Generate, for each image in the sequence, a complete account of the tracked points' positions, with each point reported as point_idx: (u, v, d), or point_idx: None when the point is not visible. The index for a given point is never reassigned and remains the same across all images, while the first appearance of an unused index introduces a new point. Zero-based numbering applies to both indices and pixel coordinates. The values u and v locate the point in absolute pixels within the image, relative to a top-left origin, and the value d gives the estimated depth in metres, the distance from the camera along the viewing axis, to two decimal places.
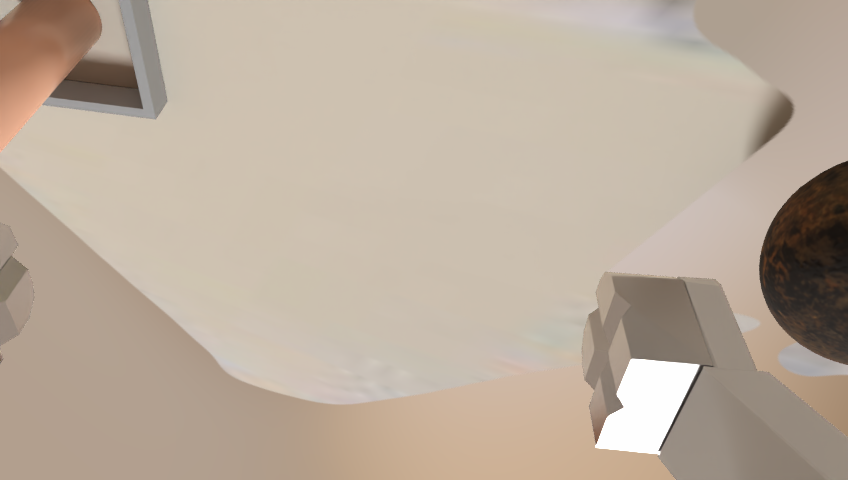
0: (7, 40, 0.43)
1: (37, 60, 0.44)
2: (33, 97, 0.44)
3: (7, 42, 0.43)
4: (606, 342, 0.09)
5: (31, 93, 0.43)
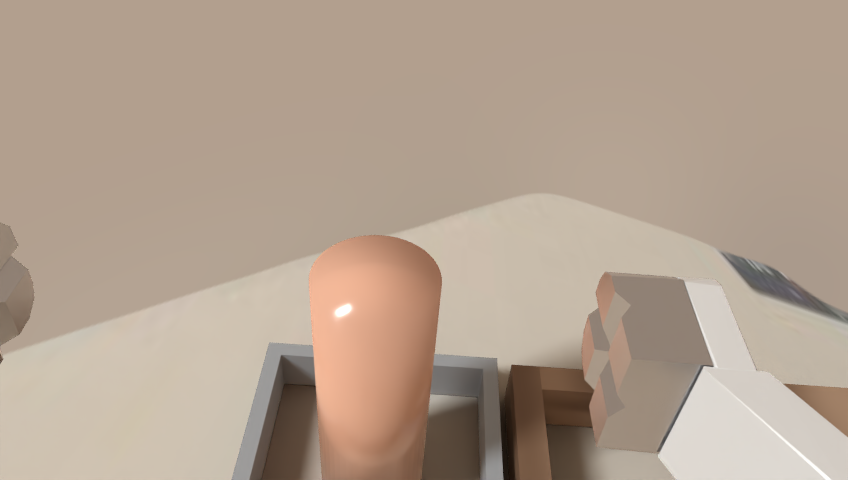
0: (428, 395, 0.30)
1: (400, 422, 0.29)
2: (365, 397, 0.27)
3: (428, 393, 0.30)
4: (606, 342, 0.09)
5: (373, 396, 0.27)
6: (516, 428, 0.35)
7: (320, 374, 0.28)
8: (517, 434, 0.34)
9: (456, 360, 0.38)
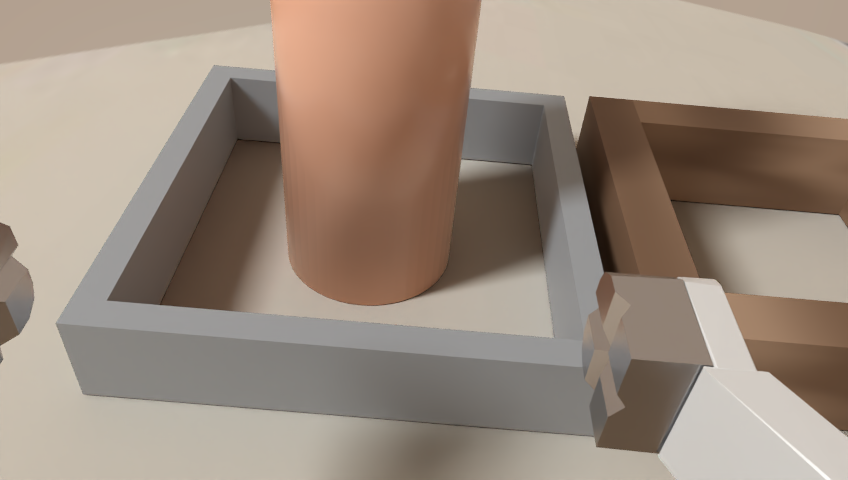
0: (477, 18, 0.16)
1: (426, 40, 0.15)
2: None
3: (477, 11, 0.16)
4: (606, 342, 0.09)
5: None
6: (607, 161, 0.21)
7: None
8: (610, 167, 0.21)
9: (502, 95, 0.25)
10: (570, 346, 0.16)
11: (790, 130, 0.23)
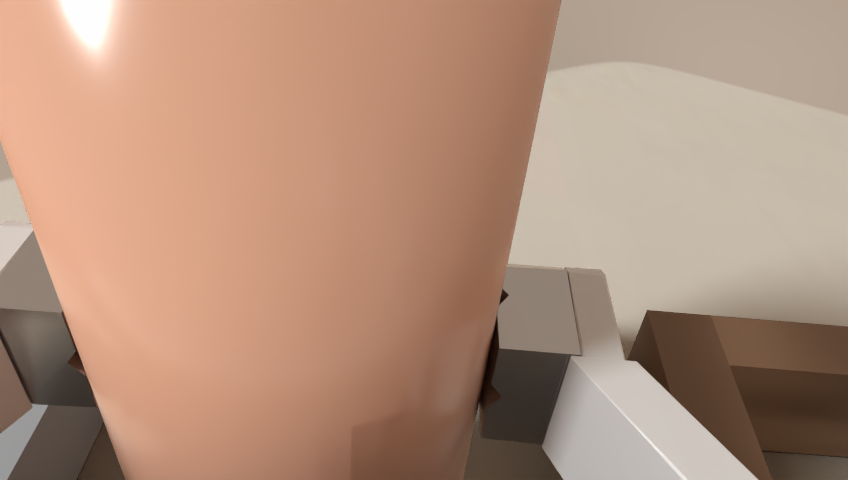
0: (487, 360, 0.08)
1: (384, 461, 0.07)
2: (219, 346, 0.06)
3: (488, 352, 0.08)
4: None
5: (258, 345, 0.06)
6: None
7: None
8: None
9: None
10: None
11: None
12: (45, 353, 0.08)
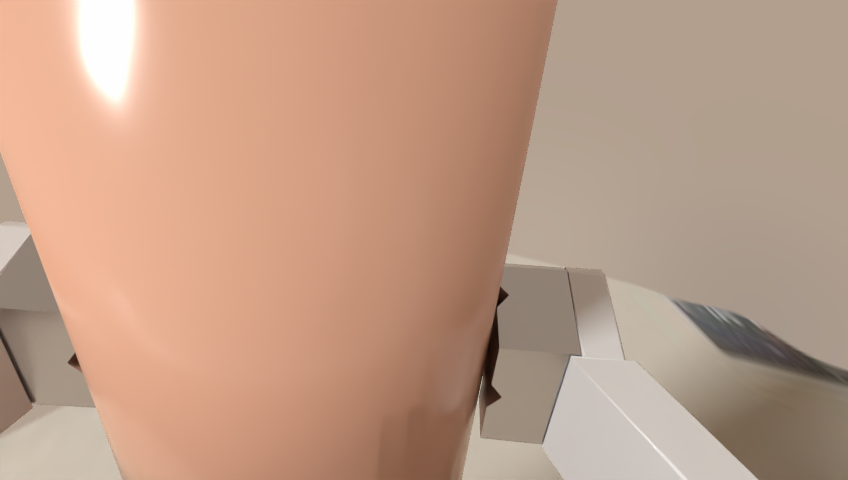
0: (485, 359, 0.08)
1: (381, 460, 0.07)
2: (216, 346, 0.06)
3: (485, 351, 0.08)
4: None
5: (254, 345, 0.06)
6: None
7: (39, 254, 0.06)
8: None
9: None
10: None
11: None
12: (46, 353, 0.08)
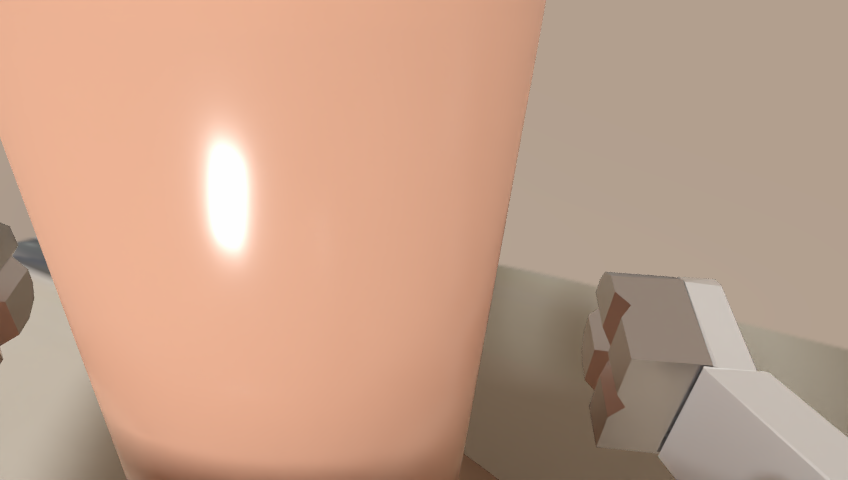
0: (468, 420, 0.09)
1: None
2: (232, 433, 0.07)
3: (468, 415, 0.09)
4: (606, 342, 0.09)
5: (265, 432, 0.07)
6: None
7: (78, 345, 0.08)
8: None
9: None
10: None
11: None
12: None
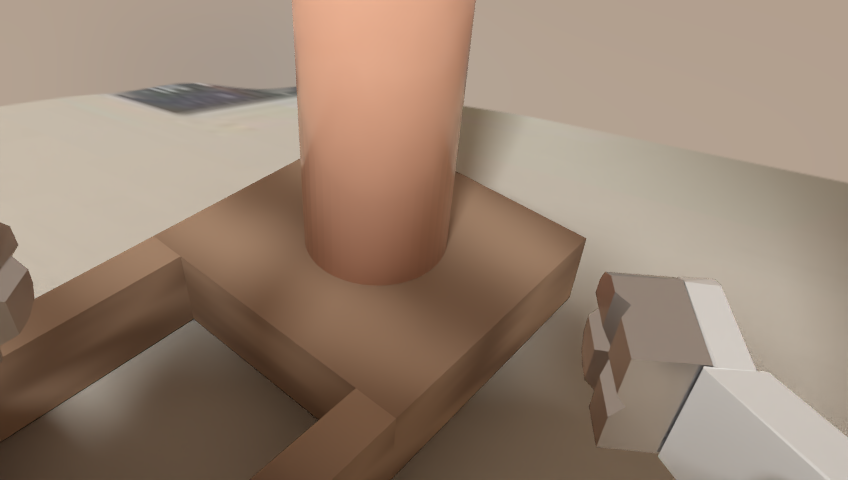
0: (469, 36, 0.19)
1: (427, 56, 0.18)
2: None
3: (470, 30, 0.19)
4: (606, 342, 0.09)
5: None
6: None
7: None
8: None
9: None
10: None
11: (94, 296, 0.22)
12: None
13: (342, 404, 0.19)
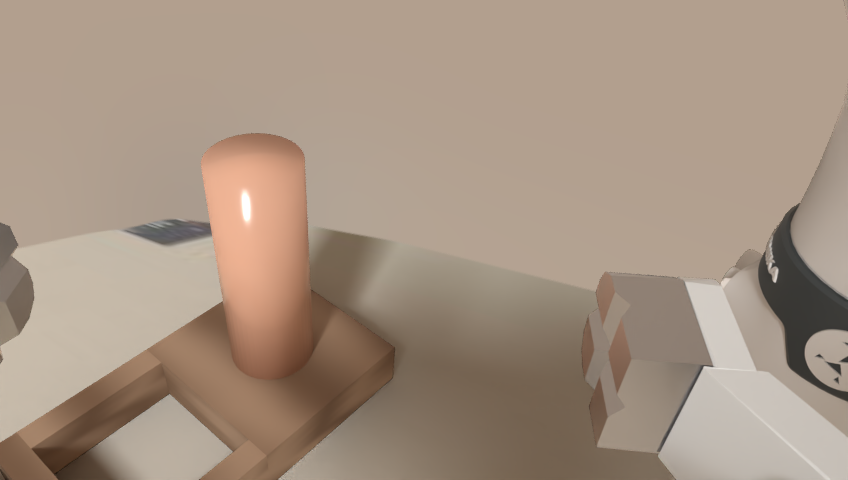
0: (305, 263, 0.38)
1: (278, 280, 0.37)
2: (247, 254, 0.35)
3: (304, 261, 0.38)
4: (606, 342, 0.09)
5: (253, 253, 0.35)
6: None
7: (214, 239, 0.36)
8: None
9: None
10: None
11: (114, 387, 0.41)
12: None
13: (240, 448, 0.38)
